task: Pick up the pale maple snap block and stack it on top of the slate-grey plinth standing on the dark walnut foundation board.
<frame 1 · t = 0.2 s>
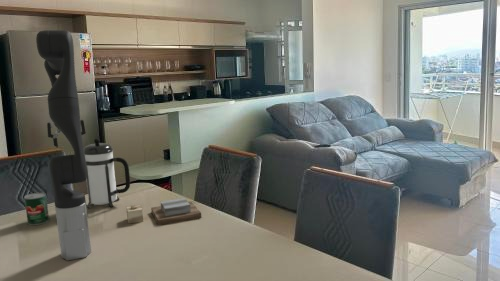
hand: (68, 146, 178), 29 cm above the table, fingers open, 8 cm apart
foundation: (175, 214, 176), on the table
maple block: (135, 220, 172), on the table
canned tomato: (38, 222, 174), on the table
coffee press: (106, 204, 193), on the table
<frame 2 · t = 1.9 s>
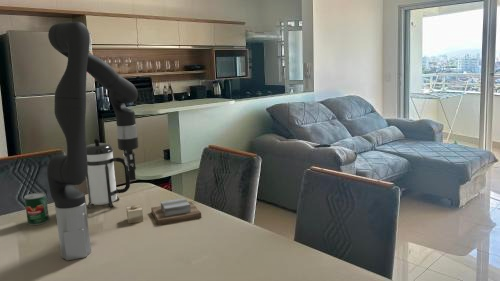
hand: (131, 177, 168), 18 cm above the table, fingers open, 8 cm apart
nothing on the table moved.
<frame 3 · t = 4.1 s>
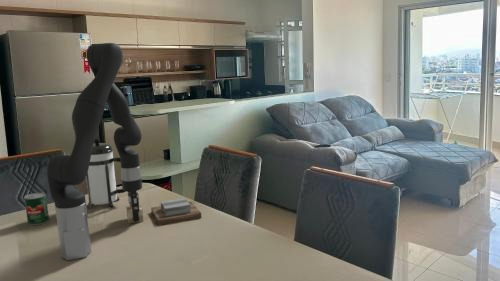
hand: (135, 218, 172), 1 cm above the table, fingers closed on maple block, 5 cm apart
maple block: (135, 220, 172), on the table, touching gripper
everything else where it was.
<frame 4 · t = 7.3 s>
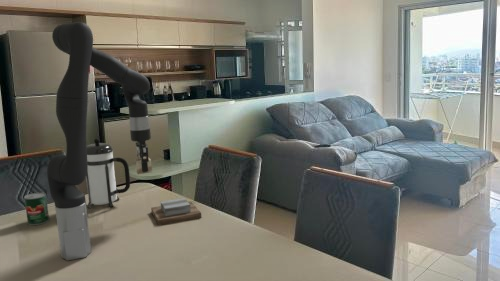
hand: (143, 170, 170), 20 cm above the table, fingers closed on maple block, 5 cm apart
maple block: (143, 171, 170), point 19 cm above the table, touching gripper
everything else where it was.
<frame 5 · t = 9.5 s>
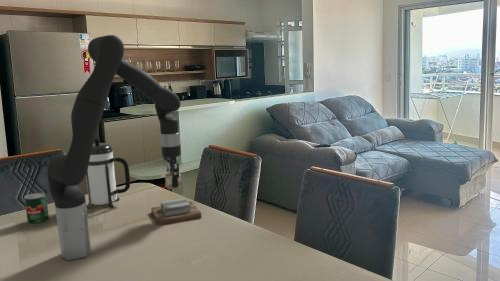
hand: (173, 185, 173), 13 cm above the table, fingers closed on maple block, 5 cm apart
maple block: (173, 186, 173), point 12 cm above the table, touching gripper
everything else where it was.
when the fingers open (7 cm above the table, at t = 11.0 s): maple block drops 1 cm, resting on foundation.
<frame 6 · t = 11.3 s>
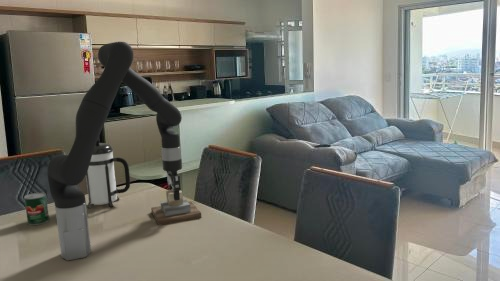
hand: (174, 197, 174), 8 cm above the table, fingers open, 8 cm apart
maple block: (175, 203, 175), point 5 cm above the table, touching foundation
everything else where it was.
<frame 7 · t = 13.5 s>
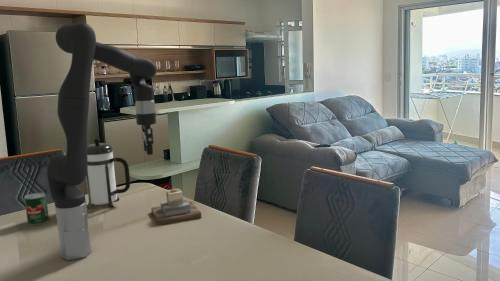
hand: (148, 152, 171), 26 cm above the table, fingers open, 8 cm apart
nothing on the table moved.
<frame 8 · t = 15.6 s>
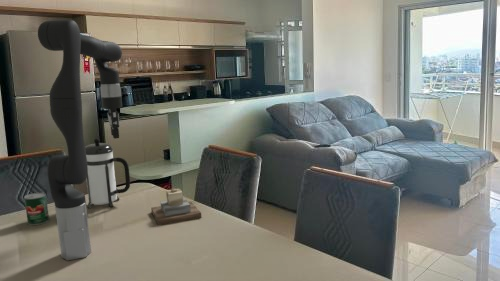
hand: (115, 136, 170), 33 cm above the table, fingers open, 8 cm apart
nothing on the table moved.
at the end: maple block 0.0 cm off-centre on the foundation, point 5.0 cm above the foundation's base; maple block tilted 0°; the gripper is holding nothing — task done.
